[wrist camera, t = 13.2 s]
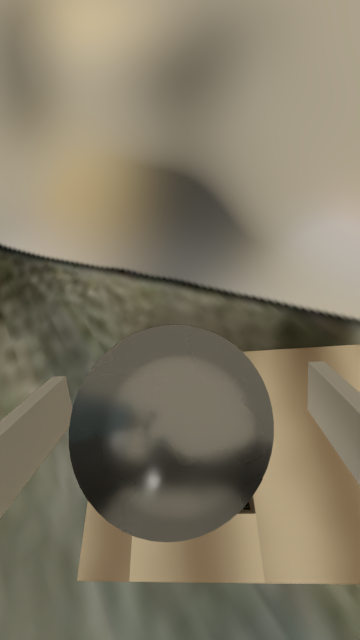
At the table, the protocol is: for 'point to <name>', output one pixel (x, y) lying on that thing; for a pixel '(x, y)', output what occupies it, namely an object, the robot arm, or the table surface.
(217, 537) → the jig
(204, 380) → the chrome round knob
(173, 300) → the table surface
